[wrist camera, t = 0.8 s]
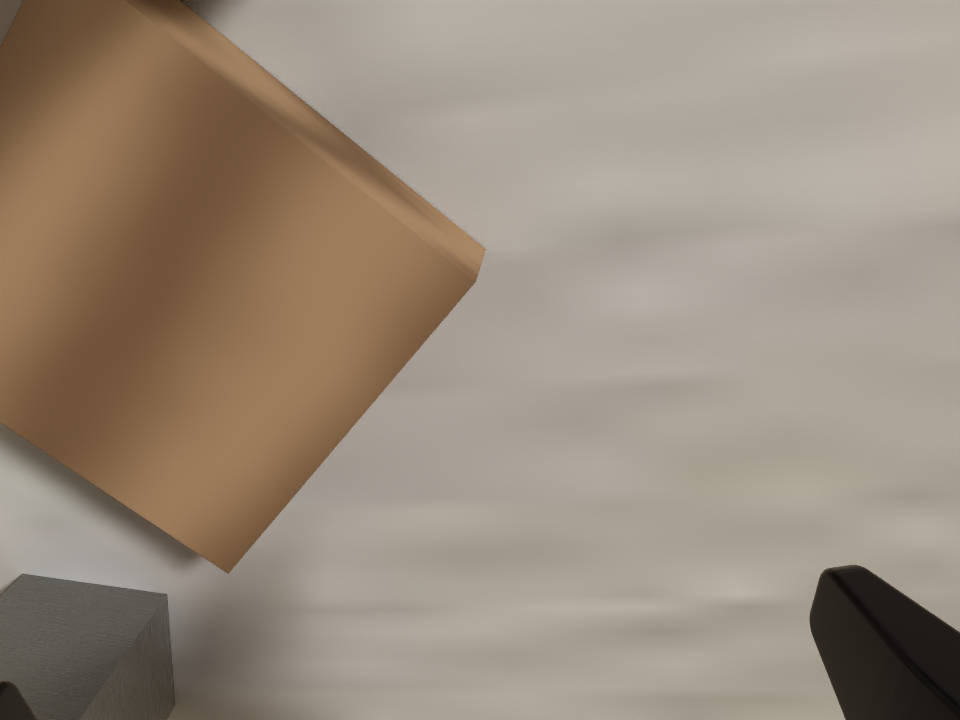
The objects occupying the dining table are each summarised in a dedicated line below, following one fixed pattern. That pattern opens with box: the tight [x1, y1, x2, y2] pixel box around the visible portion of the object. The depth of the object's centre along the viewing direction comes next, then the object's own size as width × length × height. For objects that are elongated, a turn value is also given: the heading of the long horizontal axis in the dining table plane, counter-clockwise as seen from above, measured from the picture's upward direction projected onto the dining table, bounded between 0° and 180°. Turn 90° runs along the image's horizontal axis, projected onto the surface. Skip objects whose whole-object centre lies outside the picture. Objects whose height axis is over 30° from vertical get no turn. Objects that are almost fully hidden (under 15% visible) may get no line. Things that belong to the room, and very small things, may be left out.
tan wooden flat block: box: [0, 0, 486, 573], centre depth 20 cm, size 11×11×3 cm
